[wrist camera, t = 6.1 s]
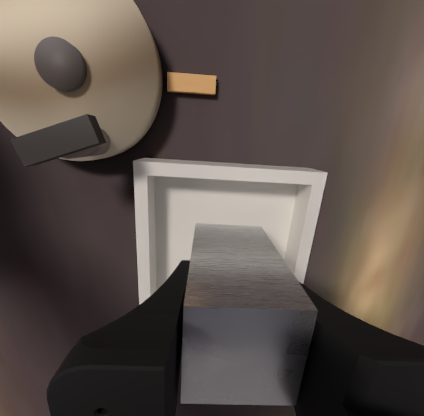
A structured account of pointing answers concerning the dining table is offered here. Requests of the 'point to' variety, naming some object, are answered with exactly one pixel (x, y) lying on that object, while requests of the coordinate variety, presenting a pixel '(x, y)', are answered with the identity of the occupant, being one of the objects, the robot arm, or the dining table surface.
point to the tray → (220, 210)
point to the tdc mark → (191, 83)
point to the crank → (76, 78)
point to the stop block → (242, 321)
